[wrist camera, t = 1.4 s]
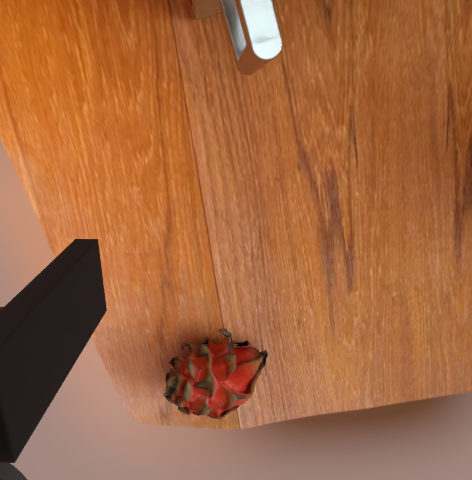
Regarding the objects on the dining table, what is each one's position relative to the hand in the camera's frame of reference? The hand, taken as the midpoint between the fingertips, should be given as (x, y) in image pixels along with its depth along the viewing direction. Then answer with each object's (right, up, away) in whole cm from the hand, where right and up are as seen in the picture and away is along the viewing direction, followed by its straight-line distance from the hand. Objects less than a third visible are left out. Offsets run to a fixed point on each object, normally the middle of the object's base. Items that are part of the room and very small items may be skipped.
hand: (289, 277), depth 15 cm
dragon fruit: (-4, -12, +36) cm, 38 cm away
